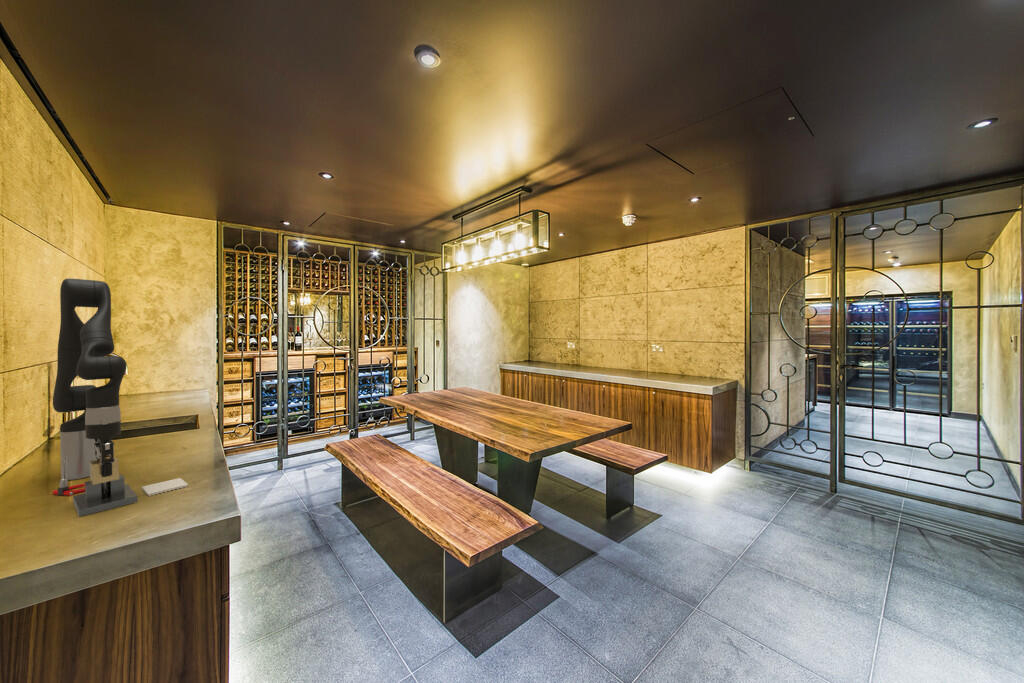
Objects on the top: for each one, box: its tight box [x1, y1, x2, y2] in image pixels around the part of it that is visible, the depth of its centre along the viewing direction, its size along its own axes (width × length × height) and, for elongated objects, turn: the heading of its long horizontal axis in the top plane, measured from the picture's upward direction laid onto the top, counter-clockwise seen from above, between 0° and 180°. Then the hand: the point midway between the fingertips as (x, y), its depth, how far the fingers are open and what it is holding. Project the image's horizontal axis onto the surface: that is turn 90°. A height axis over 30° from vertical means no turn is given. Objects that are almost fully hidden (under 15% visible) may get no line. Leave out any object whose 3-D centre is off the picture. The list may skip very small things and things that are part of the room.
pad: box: [141, 477, 189, 497], centre depth 130 cm, size 10×10×1 cm
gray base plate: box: [72, 473, 138, 518], centre depth 119 cm, size 16×12×12 cm
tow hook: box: [51, 455, 85, 497], centre depth 129 cm, size 8×13×9 cm
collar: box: [89, 456, 120, 485], centre depth 119 cm, size 6×6×6 cm
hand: (104, 473), depth 119 cm, fingers open, 8 cm apart
